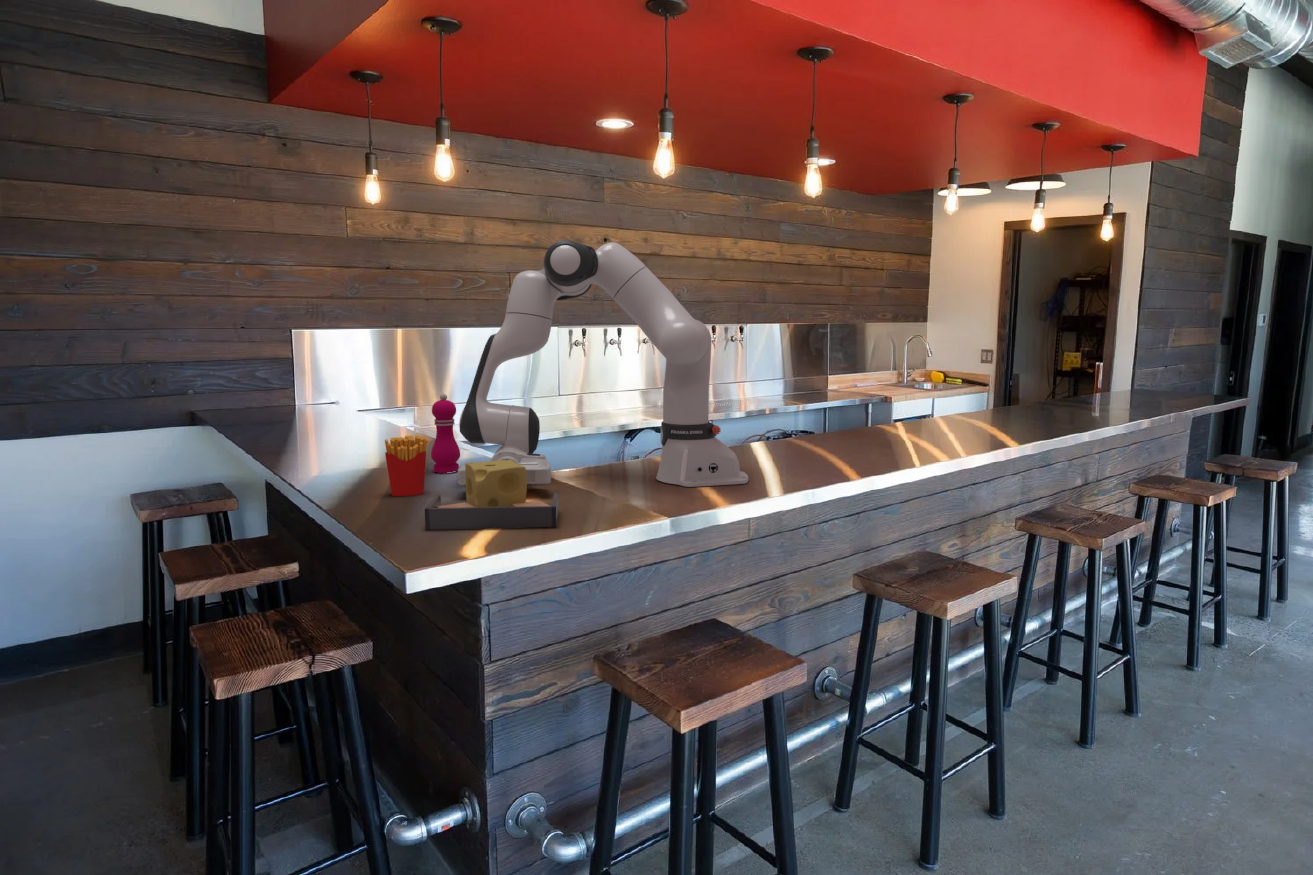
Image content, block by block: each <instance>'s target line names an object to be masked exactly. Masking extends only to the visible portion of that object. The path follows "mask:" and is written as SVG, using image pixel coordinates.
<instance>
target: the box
mask: <svg viewBox="0 0 1313 875" xmlns="http://www.w3.org/2000/svg"><path fill="white" fill-rule="evenodd" d="M441 496H442V495H441V494H436V495H435V496H434V497H433V498H432V499H431V501H430V502H429V503H428V505H426V507H425V508H424V527H425V528H424V529H425V531H431V530H433V531H436V530H441V531H442V530H478V529H479V530H481V529H483V530H486V529H487V530H489V529H490V530H491V529H495V530H496V529H518V528H517V527H550V528H557V526H558V519H559V518H558V517H559V512H558V511H559V508H560V507H559V492H554V493H553V497H552V498H553V499H552V504H551V505H550V506H521V507H462V508H437V506H442V497H441ZM557 518H558V519H557ZM556 525H557V526H556Z"/></svg>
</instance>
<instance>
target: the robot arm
mask: <svg viewBox="0 0 1313 875" xmlns="http://www.w3.org/2000/svg"><path fill="white" fill-rule="evenodd" d="M543 258H544V259H543V268H542V269H540V270H533V269H532V270H529V269H528V270H525V271H521V272H519V273H517V274H516V275H515V277H514V278H513V282H512V284H511V287H510V291H509V294H508V299H507V302H506V308H505V315H504V316H505V317H504V320H503V323H502V325H501V327H500V329H499V330H498V331H497V332H496V333H494V334H491V335H490V336H489V337H488V339H487V341H486V343H485V345H484V348H483V351H482V353H481V356H480V359H479V363H478V365H477V368H476V371H475V375H474V377H473V378H474V379H473V382H472V384H471V388H470V391H469V394H468V397H467V400H466V403H465V405H464V407H463V410H462V411H461V414H460V418H459V423H458V424H459V425H458V426H459V433H460V434H461V435H462V437H463V438H464V439H465V440H466V441H467V442H469V443H470V444H492V445H497V446H499V448H498V449H497V450H496V451H495V452H494V454H493V456H492V457H491V458H490V460H489V462H490V461H500V460H512V461H513V462H515V463H516V464H519V465H522V466H524V467H525V469H526V477H527V485H547V484H551V483H552V482H551V481H552V478H551V477H552V472H551V471H552V470H551V468H552V467H551V463H550V462H549V461H548V460H547V458H546V454H540V453H535V451H536V450H537V447H538V445H539V441H540V440H539V438H540V425H541V424H540V418H539V416H538V414H537V412H535V410H534V409H533V408H532V407H527V406H521V405H513V404H512V405H510V404H501V403H495V402H490V401H488V400H487V399H488V394H489V392H490V389H491V387H492V383H493V379H494V376H495V374H496V370H497V369H498V367H500V365H501V364H504V363H505V362H508V361H510V360H513V359H516V358H517V359H518V358H521V357H527V356H529V355H532V354H535V353H537V352H539V351H540V350H542V349H543V348H544V347H545V346H546V344H547V343H548V341H549V339H550V335H551V331H552V330H551V329H552V324H553V315H554V314H553V313H554V307H555V305H556V304H555V303H556V302H557V301H562V300H567V299H575V298H579V297H581V296H584V294H586V293H587V292H589V290H590V289H591V287H592V286H593V285H596V286H598V287H600V289H602V290H604V291H605V292H606V293H607V294H608V295H609V296H610V297H611V299H613V301H614V302H616V304H617V305H618V306H619V307H620V308H621V309H622V310H623V311H624V312H625V313H626V314H627V315H628V316H629V317H630V318H631V319H632V321H633V322H635V323H636V325H637V326H638V327H639V329H641V332H642V333H643V334H644V335H645V336H646V337H647V338H648V340H649V341H650V342H651V343H652V345H653V346H655V349H657V350H658V351H659V353H661V355H662V356H663V357H664V358H665V371H664V372H665V373H664V381H663V388H662V389H663V390H662V391H663V392H662V398H663V399H662V400H663V402H662V421H661V424H660V425H661V426H660V444H661V454H660V460H659V466H658V469H657V470H658V471H657V474H656V477H655V479H656V480H657V481H659V482H662V483H665V484H671V485H679V486H682V487H686V488H695V487H712V486H713V487H714V486H726V485H727V486H729V485H730V486H731V485H743V484H747V483H748V482H749V476H748V474H747V473H746V472H744V471H742V470H740V469H741V468H740V463H739V459H738V455H737V454H736V453H735V452H734V451H733V449H731V448H730V447H728V446H727V445H726V444H725V443H724V442H722V441H721V440H720V439H719V438H718V437H716V436H717V435H719V434H720V433H721V431H722V430H721V427H720V426H719V425H717V424H716V425H715V424H714V423H712V422H710V421H709V410H710V409H709V405H710V404H709V403H710V401H709V399H710V395H709V394H710V393H709V392H710V377H711V363H712V362H711V361H712V360H711V359H712V358H711V357H712V336H711V332H710V330H709V329H708V327H707V325H706V324H704V323H703V322H702V321H700V320H699V319H696V318H694V317H693V315H692V316H691V314H690V313H689V312H688V311H687V309H686V308H685V307H684V306H683V304H681V303H680V301H679V300H678V299H677V298H676V296H674V295H673V293H672V292H671V291H670V290H669V289H668V287H666V286H665V284H663V282H661V280H660V279H659V278H658V277H657V276H656V275H655V274H654V273H653V272H652V271H651V270H650V269H649V268H648V266H646V265H645V264H644V263H643V261H641V260H640V259H639V258H638V257H637V256H636V255H634V254H633V253H632V252H631V251H629V250H628V249H627V248H625V247H624V246H622V245H621V244H620V243H618V242H613V241H611V242H607V243H605V244H604V243H603V244H602V245H600V247H598V248H597V249H596V250H595V248H594V247H592V246H590V245H586V244H584V243H580V242H579V241H578V242H577V241H574V240H570V239H562V240H558V241H556V242H553V243H552V245H550V246H549V247H548V248H547V250H546V252H545V254H544V257H543ZM457 483H458V485H460V486H466V477H465V464H464V465H462V466H460V467H459V469H458V472H457Z"/></svg>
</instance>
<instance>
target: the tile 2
mask: <svg viewBox="0 0 1313 875" xmlns="http://www.w3.org/2000/svg"><path fill="white" fill-rule="evenodd" d="M521 506H551V505H550V504H547V503H545V502H543V501H541V500H531V501H525V502H523V503H515V504H511V507H521Z"/></svg>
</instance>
